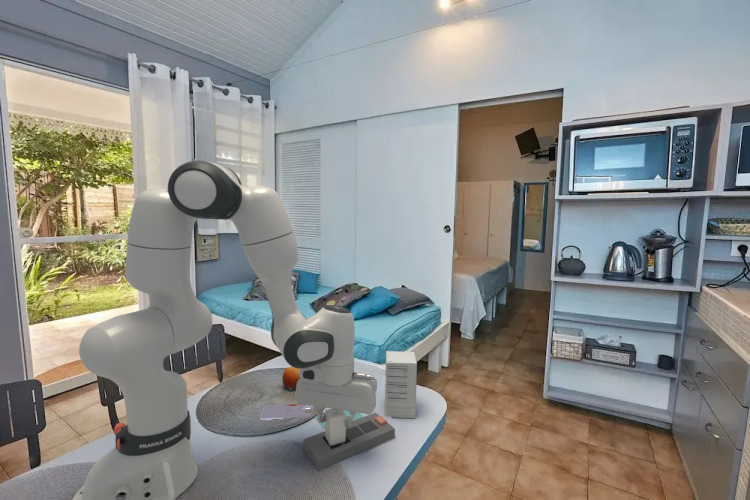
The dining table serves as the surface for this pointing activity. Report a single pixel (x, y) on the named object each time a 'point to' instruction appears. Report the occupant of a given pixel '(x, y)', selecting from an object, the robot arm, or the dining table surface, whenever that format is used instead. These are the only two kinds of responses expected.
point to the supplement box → (400, 384)
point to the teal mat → (357, 416)
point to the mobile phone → (285, 411)
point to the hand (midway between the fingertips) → (335, 423)
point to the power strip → (349, 441)
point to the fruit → (291, 377)
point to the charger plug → (335, 426)
